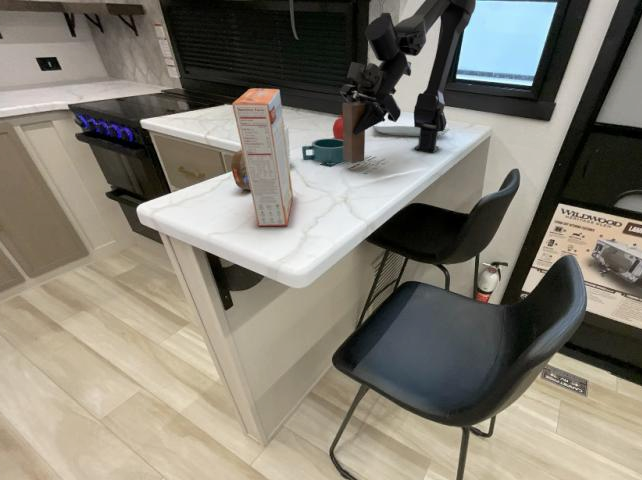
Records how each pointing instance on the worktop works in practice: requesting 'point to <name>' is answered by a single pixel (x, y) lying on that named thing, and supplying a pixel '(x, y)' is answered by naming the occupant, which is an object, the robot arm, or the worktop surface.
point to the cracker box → (265, 154)
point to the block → (352, 142)
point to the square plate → (402, 126)
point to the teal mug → (325, 151)
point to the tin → (240, 170)
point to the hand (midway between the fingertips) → (349, 131)
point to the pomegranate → (338, 128)
